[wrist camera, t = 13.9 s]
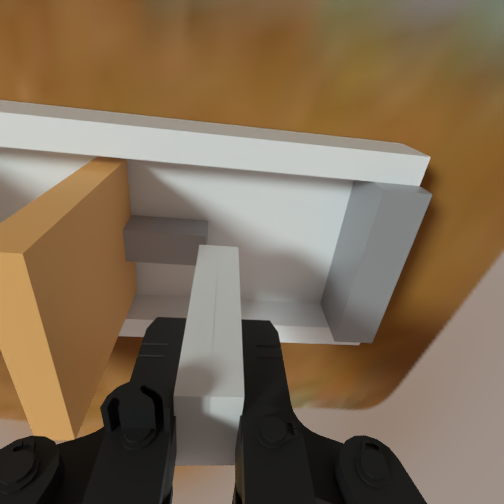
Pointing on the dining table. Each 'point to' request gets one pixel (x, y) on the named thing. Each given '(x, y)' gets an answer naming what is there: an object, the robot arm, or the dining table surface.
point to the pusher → (76, 287)
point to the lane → (242, 209)
